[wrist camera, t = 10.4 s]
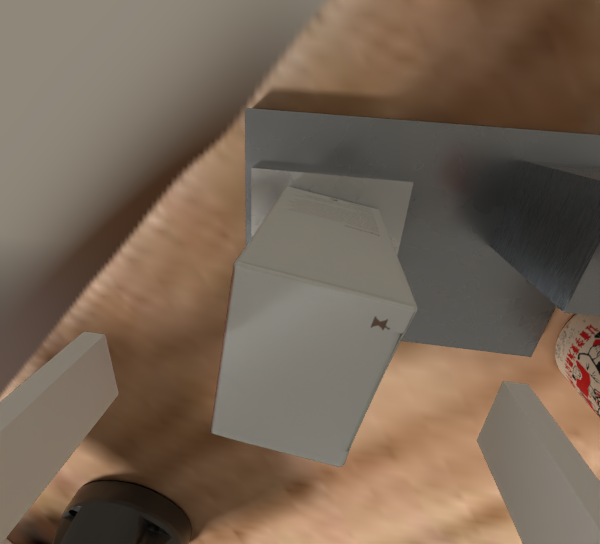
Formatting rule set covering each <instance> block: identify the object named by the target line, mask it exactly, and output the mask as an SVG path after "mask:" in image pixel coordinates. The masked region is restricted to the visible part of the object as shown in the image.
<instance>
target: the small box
mask: <svg viewBox="0 0 600 544" xmlns="http://www.w3.org/2000/svg"><path fill="white" fill-rule="evenodd" d="M417 310H418V309H417V305H416V303H415V300H414V298H413V295H412V292H411V290H410V287H409V285H408V282H407V279H406V277H405V274H404V272H403V269H402V267H401V264H400V262H399V259H398V256H397V254H396V251H395V248H394V246H393V243H392V241H391V238H390V236H389V233H388V230H387V228H386V226H385V223H384V221H383V218H382V215H381V213H380V210H379V209H375V208H371V207H367V206H363V205H359V204H355V203H351V202H347V201H344V200H340V199H336V198H332V197H328V196H324V195H320V194H316V193H312V192H308V191H304V190H301V189H297V188H293V187H289V186H288V187H286V188H285V190H284V191H283V193H282V194H281V195H280V197H279V198H278V200H277V201H276V203H275V204H274V206H273V207H272V209H271V210H270V212H269V213H268V214H267V216H266V217H265V219H264V220H263V222H262V223H261V225H260V226H259V228H258V229H257V231H256V232H255V234H254V235H253V237H252V238H251V240H250V241H249V243H248V244H247V246H246V247H245V248H244V250H243V251H242V253H241V254H240V256H239V257H238V259H237V260H236V261H235V263H234V264H233V273H232V280H231V287H230V294H229V301H228V309H227V316H226V324H225V331H224V338H223V345H222V352H221V360H220V366H219V373H218V381H217V388H216V395H215V402H214V409H213V417H212V424H211V429H210V432H211V433H212V434H215V435H219V436H222V437H226V438H229V439H233V440H236V441H240V442H244V443H248V444H252V445H256V446H260V447H263V448H267V449H271V450H275V451H279V452H283V453H287V454H290V455H294V456H298V457H302V458H306V459H310V460H314V461H318V462H321V463H325V464H329V465H333V466H337V467H342V466H343V465H344V464H345V461H346V458H347V456H348V453H349V450H350V448H351V445H352V443H353V440H354V438H355V436H356V434H357V431H358V429H359V427H360V425H361V423H362V420H363V418H364V416H365V414H366V412H367V410H368V407H369V405H370V403H371V401H372V399H373V397H374V394H375V392H376V390H377V388H378V386H379V384H380V382H381V380H382V378H383V375H384V373H385V371H386V369H387V367H388V365H389V363H390V361H391V359H392V357H393V355H394V353H395V351H396V349H397V347H398V345H399V343H400V341H401V339H402V337H403V336H404V334H405V333H406V331H407V329H408V327H409V325H410V323H411V321H412V320H413V318H414V316H415V314H416V312H417Z"/></svg>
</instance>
